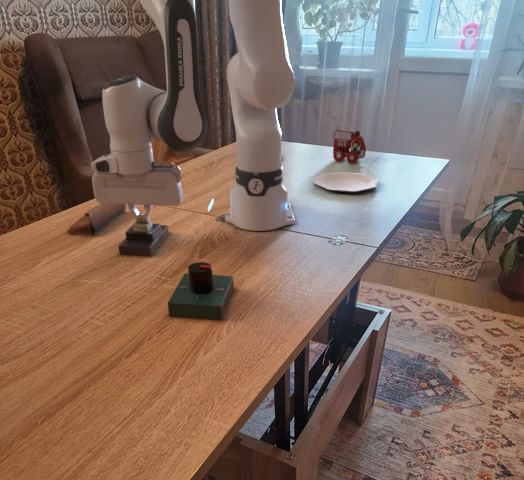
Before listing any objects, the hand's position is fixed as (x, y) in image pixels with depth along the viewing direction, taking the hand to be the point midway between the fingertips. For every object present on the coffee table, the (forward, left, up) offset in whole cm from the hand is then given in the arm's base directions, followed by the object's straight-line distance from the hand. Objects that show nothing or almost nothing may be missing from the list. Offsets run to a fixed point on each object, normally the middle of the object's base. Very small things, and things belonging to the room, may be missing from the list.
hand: (143, 222), depth 114 cm
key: (0, 0, -2) cm, 2 cm away
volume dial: (+26, +20, -2) cm, 33 cm away
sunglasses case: (-12, -17, -6) cm, 22 cm away
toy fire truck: (-84, +49, -6) cm, 98 cm away
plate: (-53, +48, -6) cm, 72 cm away
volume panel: (+26, +20, -6) cm, 33 cm away
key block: (0, 0, -6) cm, 6 cm away
